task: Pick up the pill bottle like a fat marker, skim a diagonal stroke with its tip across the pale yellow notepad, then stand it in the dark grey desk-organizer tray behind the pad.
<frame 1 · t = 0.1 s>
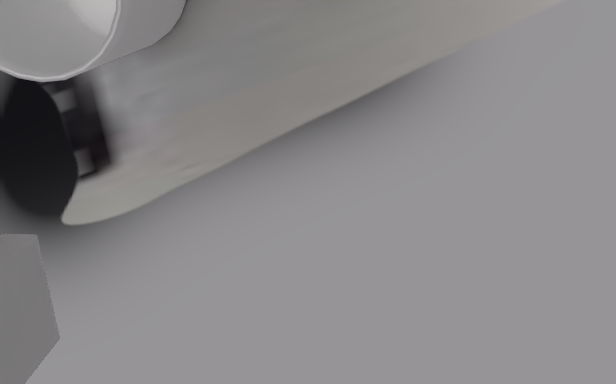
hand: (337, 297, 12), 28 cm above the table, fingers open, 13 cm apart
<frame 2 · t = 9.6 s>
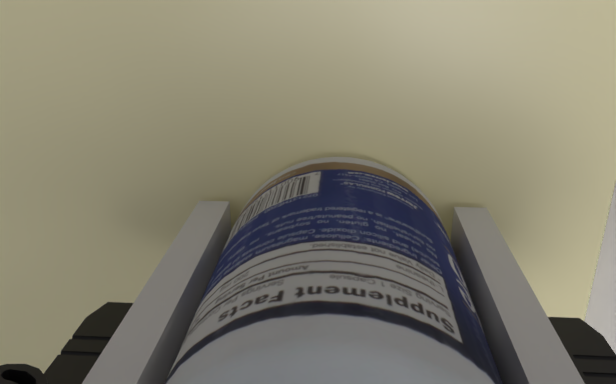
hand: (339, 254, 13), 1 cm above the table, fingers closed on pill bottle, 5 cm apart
notepad: (237, 146, 14), on the table
pill bottle: (339, 246, 14), point 1 cm above the table, touching gripper
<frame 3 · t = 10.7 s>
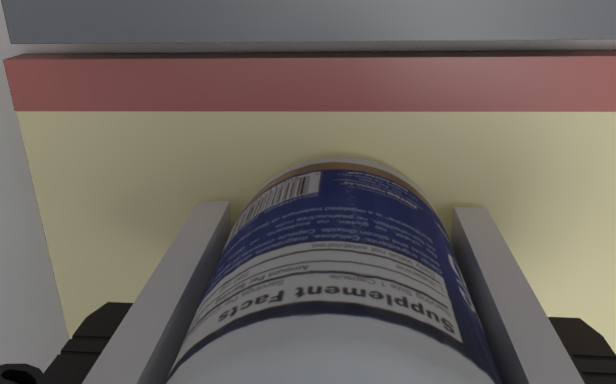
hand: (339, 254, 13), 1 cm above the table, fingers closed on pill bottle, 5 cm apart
notepad: (385, 305, 15), on the table
pill bottle: (339, 246, 14), point 1 cm above the table, touching gripper
when the fingers open (2 cm above the table, at t = 15.4 s): pill bottle stays where it is, resting on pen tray.
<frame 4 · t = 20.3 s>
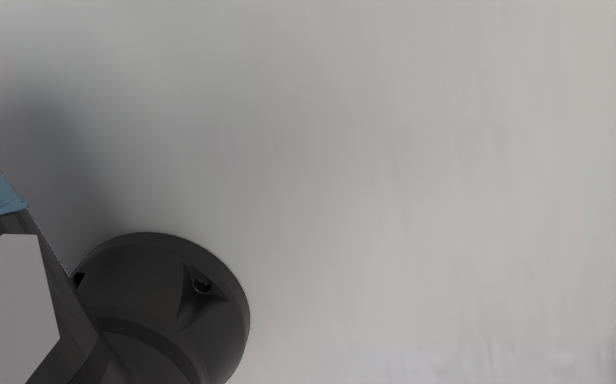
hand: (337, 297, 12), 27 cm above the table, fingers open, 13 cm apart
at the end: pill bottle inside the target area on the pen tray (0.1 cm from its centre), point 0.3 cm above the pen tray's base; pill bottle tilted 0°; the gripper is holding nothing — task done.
